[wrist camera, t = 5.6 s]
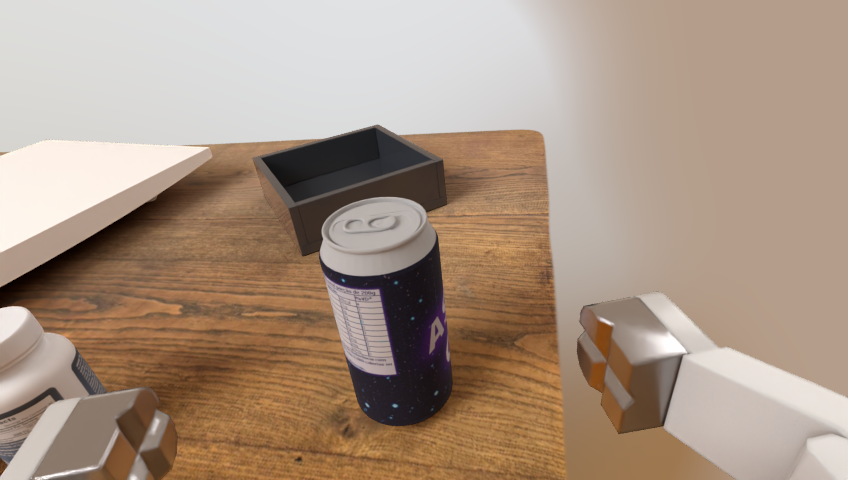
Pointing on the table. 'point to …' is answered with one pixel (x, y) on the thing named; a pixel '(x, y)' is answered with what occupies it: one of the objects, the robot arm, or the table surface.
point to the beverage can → (389, 307)
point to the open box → (345, 179)
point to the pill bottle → (35, 376)
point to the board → (77, 193)
